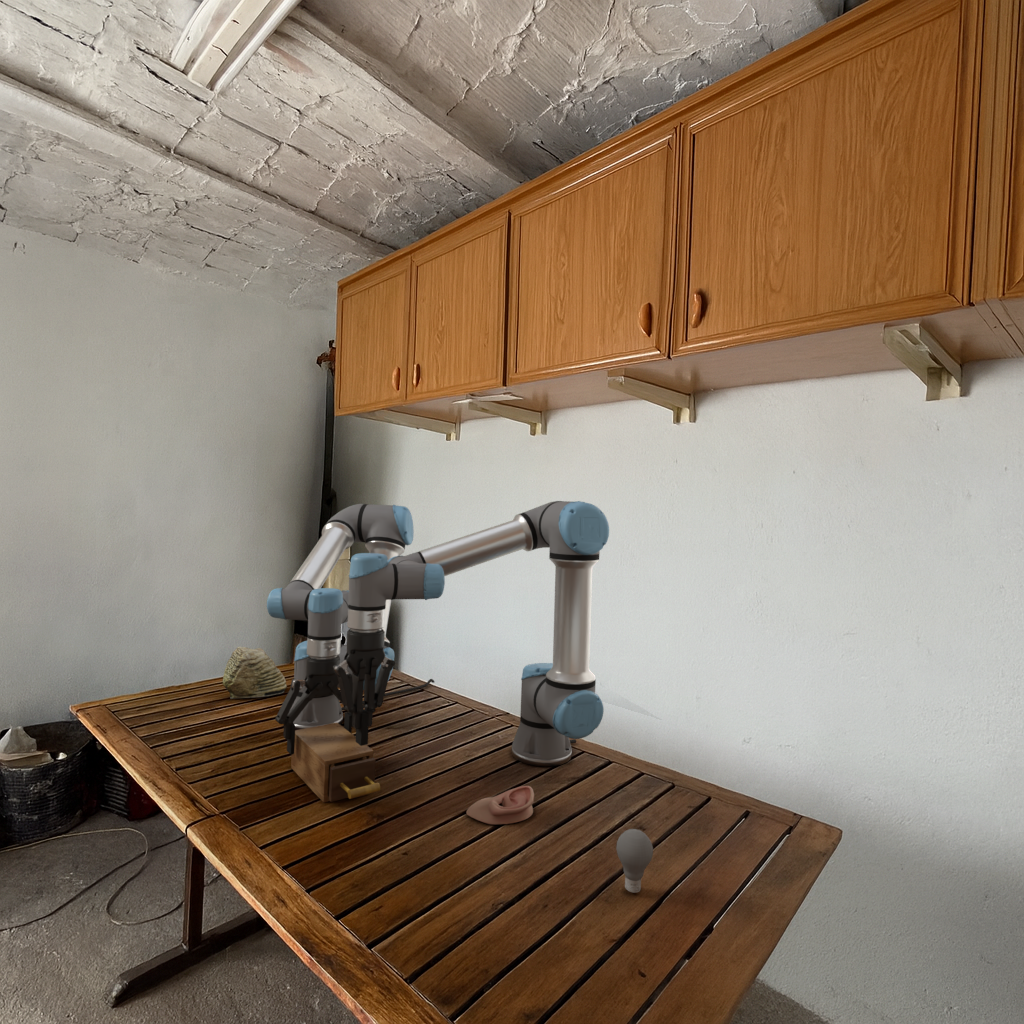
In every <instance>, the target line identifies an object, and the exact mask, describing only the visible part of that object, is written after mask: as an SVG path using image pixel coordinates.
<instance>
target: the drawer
mask: <svg viewBox="0 0 1024 1024" xmlns="http://www.w3.org/2000/svg"><path fill="white" fill-rule="evenodd" d="M375 780H376V759H375V758H374V757H373V758H369V759H367V757H366V756H365V757H361V758H357V759H352V760H348V761H344V762H339V763H335V764H330V765H329V780H328V792H329V800H330V801H329V802H330V803H332V802H336V801H340V800H343V799H347V798H348V799H349V800H352V799H355V798H359V797H362V796H366V795H371V794H374V793H379V792H380V791H381V784H380V783H379V782H376V781H375Z"/></svg>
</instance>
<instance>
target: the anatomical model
mask: <svg viewBox="0 0 1024 1024" xmlns="http://www.w3.org/2000/svg"><path fill="white" fill-rule="evenodd" d="M534 801H535V793H534V789H533V788H532V786H530V785H521V786H517V787H515V788H512V789H511V788H510V789H508V790H506V791H504V792H502V793H500V794H498V795H495V796H491V797H485V798H482V799H479V800H477V801H476V802H474V803H472V804H471V805H470V806H469V807H468V808H467V810H466V812H465V813H466V815H467V816H468V817H470V818H472V819H474V820H476V821H478V822H481V823H484V824H487V825H508V824H514V823H518V822H522V821H525V820H527V819H529V818H530V817H532V815H533V813H534V808H533V803H534Z"/></svg>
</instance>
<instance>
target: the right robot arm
mask: <svg viewBox="0 0 1024 1024" xmlns="http://www.w3.org/2000/svg"><path fill="white" fill-rule="evenodd" d="M609 537H610V525H609V521H608V519H607V516H606V515H605V513H604V512H603V511H602V510H601V509H600V508H599V507H598V506H596V505H595V504H592V503H589V502H585V501H581V500H577V501H575V500H574V501H570V500H569V501H567V500H565V501H564V500H555V501H550V502H547V503H545V504H542V505H539V506H536V507H534V508H531V509H528V510H525V511H524V512H521V513H518V514H517V513H516V514H515V515H514V517H513V519H512V520H510V521H505V522H503V523H500V524H498V525H494V526H491V527H487V528H485V529H481V530H479V531H476V532H473V533H470V534H467V535H463V536H461V537H458V538H455V539H452V540H449V541H446V542H443V543H440V544H436V545H434V546H430V547H428V548H424V549H421V550H419V551H416V552H412V553H409V554H406V555H399V556H395V557H392V558H390V559H389V560H388V558H387V556H386V555H385V554H378V553H369V552H360V553H355V554H353V555H351V558H350V565H349V573H348V590H349V602H348V604H349V605H348V622H346V623H347V625H346V626H347V628H348V630H347V631H346V645H347V653H346V655H345V657H344V661H343V662H341V663H340V664H339V665H334V666H333V670H334V671H335V673H336V674H337V676H338V681H339V686H340V688H339V690H340V691H341V696H342V701H343V704H342V705H343V706H342V707H344V708H345V709H346V710H345V711H346V712H353V719H352V726H353V727H352V729H355V737H356V741H355V742H357V743H358V744H359V745H360V746H363V745H367V746H368V744H369V728H370V727H372V726H373V717H374V713H375V712H376V709H377V708H381V707H382V705H383V703H384V698H385V697H384V695H385V693H386V691H387V688H388V687H387V686H388V683H389V681H388V679H389V680H390V678H389V675H390V671H391V670H392V668H393V669H394V666H395V665H396V661H395V659H394V660H391V659H389V658H387V657H385V652H384V650H383V647H384V636H385V631H384V630H383V629H382V628H383V627H384V626H385V608H386V600H391V601H395V600H425V601H427V600H433V599H434V600H435V599H440V598H441V597H442V595H443V593H444V590H445V586H446V585H445V583H446V581H445V580H446V578H445V577H447V576H450V575H452V574H455V573H459V572H462V571H464V570H467V569H470V568H474V567H476V566H478V565H481V564H484V563H487V562H491V561H493V560H495V559H499V558H502V557H504V556H507V555H510V554H513V553H516V552H519V551H521V550H524V551H526V552H532V551H535V550H538V549H543V548H545V549H546V548H549V556H548V557H549V558H548V559H549V560H550V561H551V563H553V565H554V566H555V574H554V575H555V578H554V608H553V611H554V613H553V640H552V641H553V644H552V662H537V663H530V664H526V665H525V666H524V667H523V668H522V672H521V673H522V674H521V679H520V680H521V687H520V688H521V690H520V716H519V717H520V718H519V725H518V727H517V730H516V733H515V735H514V738H513V741H512V743H511V755H512V757H513V758H514V759H516V761H519V762H521V763H523V764H527V765H530V766H536V767H556V766H557V767H558V766H561V765H564V764H566V763H568V762H570V761H571V760H572V753H573V750H572V748H573V747H572V745H571V744H576V743H577V740H580V739H584V738H586V737H588V736H590V735H591V734H593V732H594V731H595V730H596V729H598V728H599V726H600V725H601V723H602V720H603V717H604V709H605V708H604V704H603V700H602V699H601V698H600V696H599V695H598V694H597V693H596V675H595V674H594V673H593V672H592V671H591V669H590V660H591V659H590V658H591V631H592V630H591V628H592V627H591V626H592V599H593V597H592V595H593V593H592V592H593V568H594V567H595V566H596V564H598V562H600V553H601V551H602V549H604V546H605V545H606V544H607V542H608V540H609ZM380 664H381V668H380V671H379V675H378V679H377V683H376V687H375V679H376V673H377V669H378V667H379V666H380ZM347 666H348V667H349V668H350V670H351V671H352V677H353V693H352V695H351V690H350V685H349V680H348V676H347V674H346V673H347V672H348V670H347ZM392 671H393V670H392ZM364 680H365V683H364V690H363V682H364ZM363 701H364V704H363ZM362 706H364V709H362Z"/></svg>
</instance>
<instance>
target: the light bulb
mask: <svg viewBox="0 0 1024 1024" xmlns="http://www.w3.org/2000/svg"><path fill="white" fill-rule="evenodd" d="M615 849H616V854H617V857H618V859H619V861H620V863H621V865H622V867H623V873H624V874H623V875H624V876H625V878H624V888H625V890H627V891H628V892H630V893H634V894H635V893H639V892H640V891H641V889H642V887H641V886H642V879H643V877H644V875H645V871H646V868H647V867H648V866H649V864H650V863H651V861H652V859H653V855H654V847H653V843H652V841H651V838H649V836H648V835H647V834H646V833H645V832H643V831H642V830H641V829H636V828H629V829H627V830H625V831H623V832H622V833H621V834H620V835H619V837H618V839H617V841H616V847H615Z"/></svg>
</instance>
